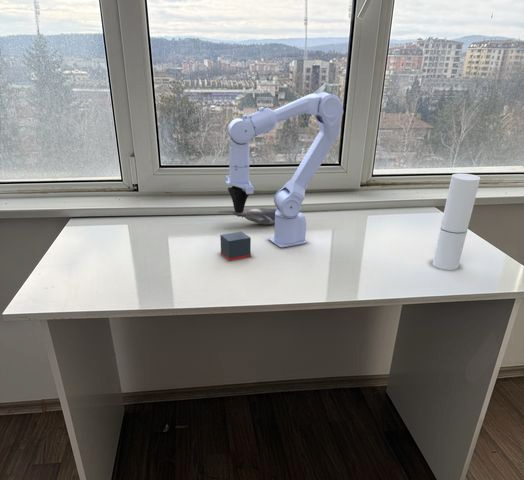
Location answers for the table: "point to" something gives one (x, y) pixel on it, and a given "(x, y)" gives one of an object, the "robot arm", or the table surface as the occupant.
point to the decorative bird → (256, 215)
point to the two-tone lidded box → (235, 245)
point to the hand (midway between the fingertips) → (239, 212)
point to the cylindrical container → (455, 220)
